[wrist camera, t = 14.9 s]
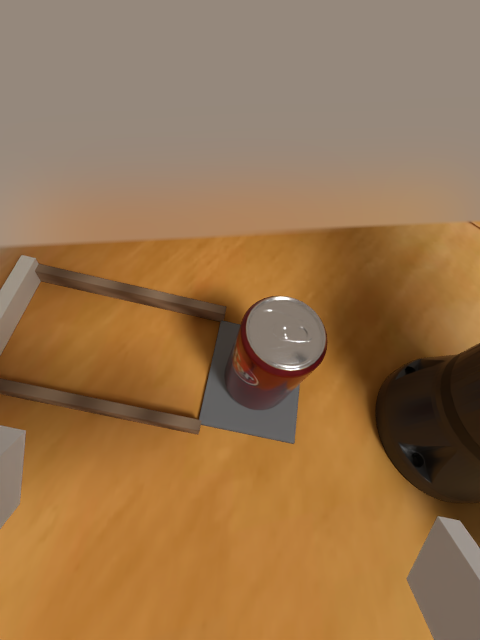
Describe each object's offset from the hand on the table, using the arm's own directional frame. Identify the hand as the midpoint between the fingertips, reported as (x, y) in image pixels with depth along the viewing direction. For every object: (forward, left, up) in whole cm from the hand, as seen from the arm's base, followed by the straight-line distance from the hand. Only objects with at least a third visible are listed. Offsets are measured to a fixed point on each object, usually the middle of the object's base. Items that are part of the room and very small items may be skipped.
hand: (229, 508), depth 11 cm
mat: (-4, -13, -24) cm, 28 cm away
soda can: (-4, -13, -24) cm, 28 cm away
